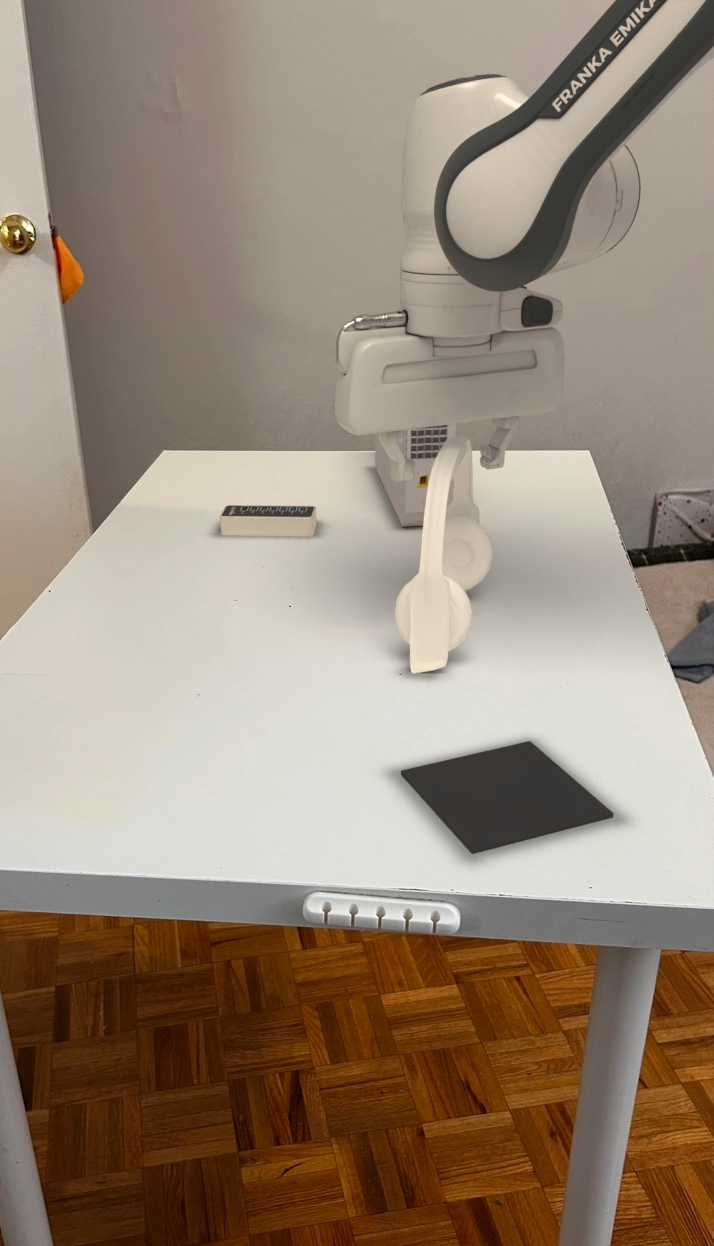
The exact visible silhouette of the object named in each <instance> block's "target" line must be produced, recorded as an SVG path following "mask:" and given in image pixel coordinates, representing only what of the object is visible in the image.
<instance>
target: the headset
mask: <svg viewBox="0 0 714 1246" xmlns="http://www.w3.org/2000/svg"><path fill="white" fill-rule="evenodd" d="M473 474H474V473H473V448H472V442H471V439H470V438H466V437H464V436H463V435H460V434H459V435H457V434H456V436H455V437H453V438H448V439H447V440H446V441H445V442H444V444H443V446H442V447H441V449H440V451H439V453H438V455H437V457H436V459H435V462H434V464H433V467H432V471H431V474H430V479H429V484H428V489H427V496H426V504H425V512H424V522H423V526H422V534H421V548H420V559H419V560H420V561H419V568H418V573H417V574H416V575H414V576H413V578H412V579H411V580H410V581H408V582H407V583H406V584H405V585H404V586H403V587H402V589H401V590H400V592H399V594H398V596H397V598H396V602H395V606H394V619H395V624H396V627H397V629H398V631H399V634H400V635H401V637H402V638H403V639H404V641H405V642H406V643H407V644H408V645H409V668H410V673H411V674H420V673H425V672H431V671H435V670H439V669H443V668H445V667H446V666H447V663H448V659H449V652H450V651H453V650H454V649H456V648H457V647H458V646H460V644H462V643H463V642H464V640H465V639H466V638H467V636H468V634H469V632H470V629H471V627H472V620H473V609H472V604H471V600H470V598H469V596H468V594H467V592H466V591H469V590H471V589H473V588H474V587H476V586H477V585H478V584H480V583H481V582H482V581H483V580H484V579H485V577H486V576H487V574H488V573H489V571H490V568H491V566H492V561H493V555H494V551H493V545H492V541H491V537H490V535H489V533H488V532H487V530H486V529H485V527H484V526H483V525H482V524H481V523H480V522H481V521H480V520H481V519H480V517H481V516H480V510H479V506H477V504H476V503H475V501H474V495H473V494H474V492H473V489H474V487H473V486H474V485H473V483H474V481H473V479H474V478H473ZM453 479H454V492H453V501H452V502H451V503H450V504H449V505H448V507H447V501H448V493H449V487H450V482H451V481H452V480H453Z"/></svg>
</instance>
